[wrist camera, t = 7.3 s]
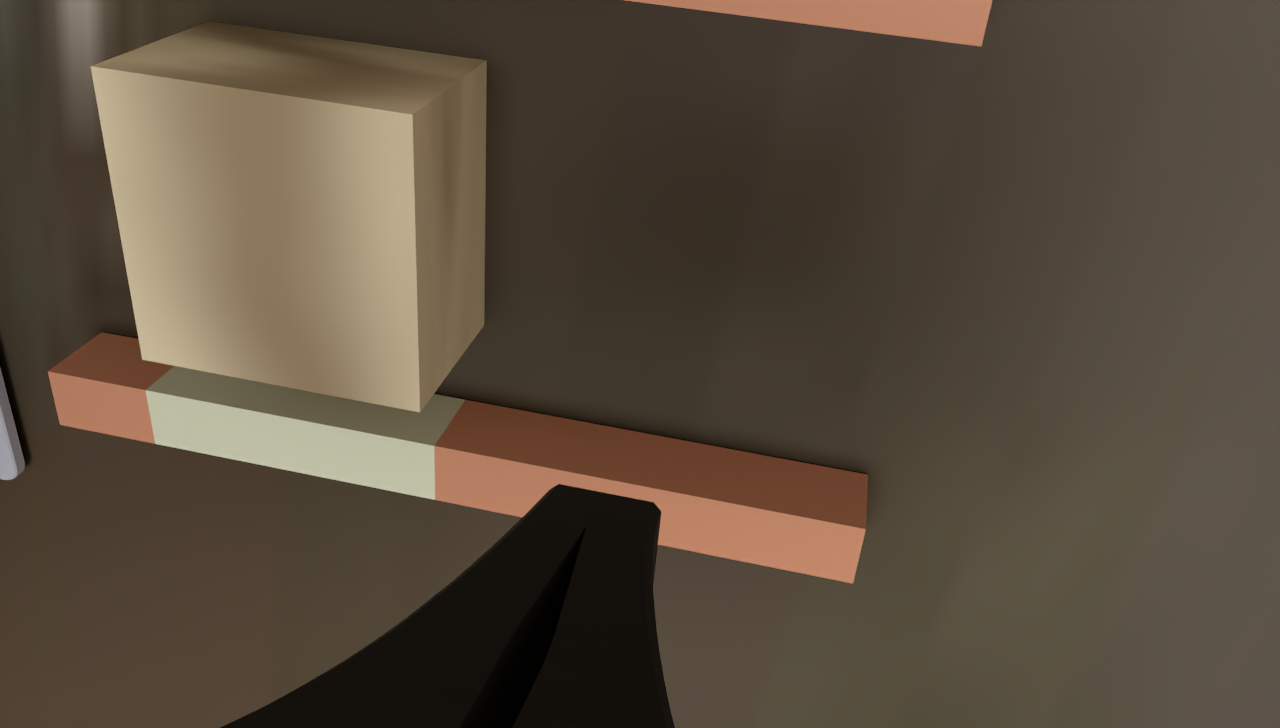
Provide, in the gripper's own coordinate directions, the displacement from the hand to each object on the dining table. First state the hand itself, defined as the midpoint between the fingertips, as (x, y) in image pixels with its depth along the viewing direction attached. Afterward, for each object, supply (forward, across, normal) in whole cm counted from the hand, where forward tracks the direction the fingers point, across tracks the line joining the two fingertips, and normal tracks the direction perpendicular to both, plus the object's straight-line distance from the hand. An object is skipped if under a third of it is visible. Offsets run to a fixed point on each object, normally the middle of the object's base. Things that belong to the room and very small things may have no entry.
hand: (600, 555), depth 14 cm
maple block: (+10, +8, 0) cm, 13 cm away
